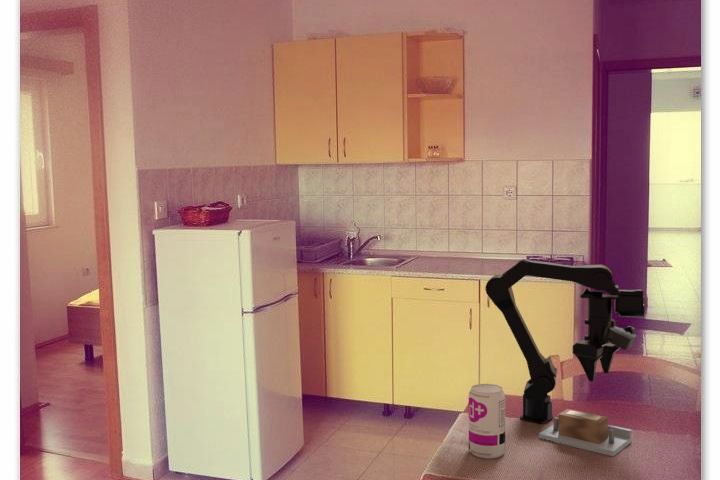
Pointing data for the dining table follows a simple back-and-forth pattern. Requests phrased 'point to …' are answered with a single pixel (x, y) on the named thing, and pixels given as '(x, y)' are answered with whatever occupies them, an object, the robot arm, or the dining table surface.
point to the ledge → (610, 446)
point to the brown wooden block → (583, 426)
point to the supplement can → (487, 421)
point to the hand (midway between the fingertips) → (598, 377)
